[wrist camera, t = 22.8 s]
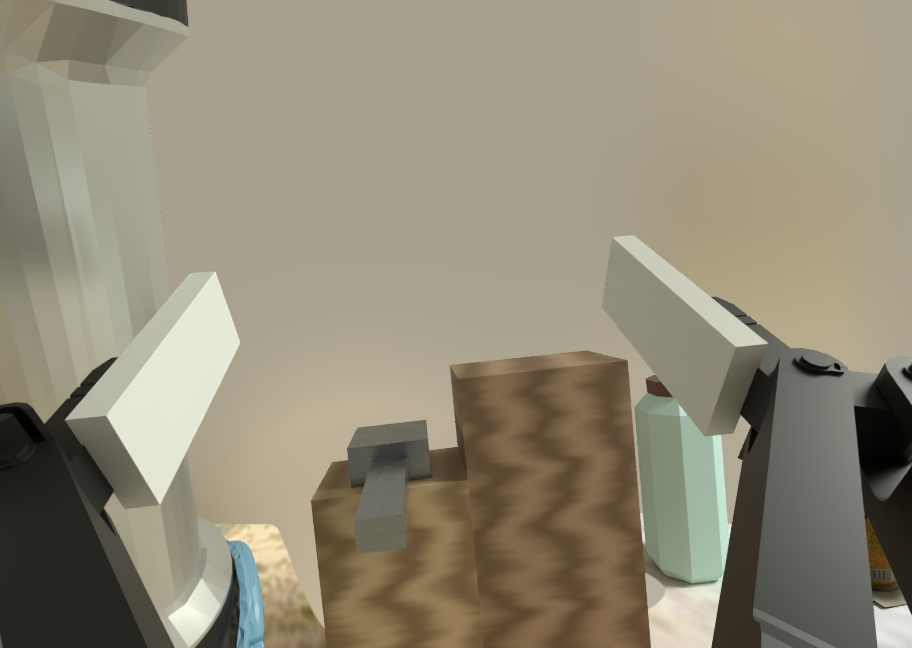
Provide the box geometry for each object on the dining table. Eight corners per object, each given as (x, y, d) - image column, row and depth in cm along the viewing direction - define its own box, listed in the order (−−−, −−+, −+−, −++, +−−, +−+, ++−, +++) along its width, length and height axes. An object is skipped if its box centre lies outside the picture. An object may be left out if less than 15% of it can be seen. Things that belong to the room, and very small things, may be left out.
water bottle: (630, 559, 63) (615, 379, 62) (681, 537, 67) (668, 369, 66) (695, 598, 54) (679, 388, 53) (749, 570, 58) (735, 376, 57)
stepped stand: (333, 704, 44) (299, 396, 43) (349, 625, 55) (323, 378, 54) (651, 651, 47) (627, 360, 46) (606, 586, 58) (586, 350, 56)
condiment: (861, 557, 59) (855, 465, 58) (940, 597, 50) (934, 490, 50) (812, 567, 58) (806, 473, 57) (884, 610, 49) (878, 501, 49)
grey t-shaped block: (325, 559, 32) (319, 503, 32) (361, 461, 53) (357, 427, 53) (437, 543, 33) (431, 489, 33) (429, 453, 54) (426, 419, 54)
